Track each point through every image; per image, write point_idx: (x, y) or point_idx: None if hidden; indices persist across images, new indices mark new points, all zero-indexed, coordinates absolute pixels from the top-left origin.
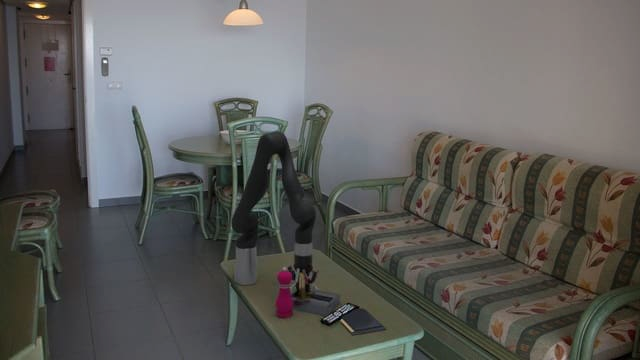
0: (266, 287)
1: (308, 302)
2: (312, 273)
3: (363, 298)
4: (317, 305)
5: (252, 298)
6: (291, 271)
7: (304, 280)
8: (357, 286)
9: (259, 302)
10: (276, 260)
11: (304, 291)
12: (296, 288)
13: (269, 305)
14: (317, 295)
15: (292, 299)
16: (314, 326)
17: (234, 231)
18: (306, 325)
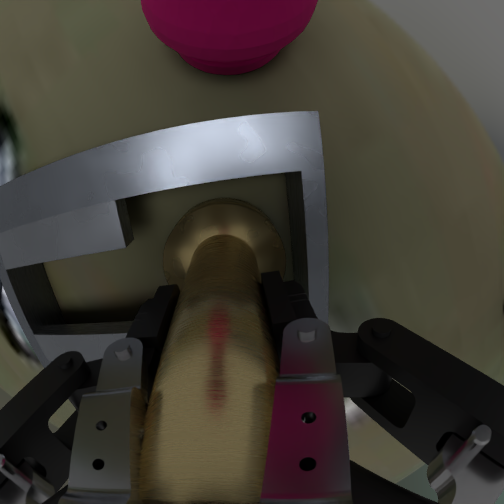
0: (474, 293)
1: (80, 168)
2: (26, 479)
3: (59, 408)
4: (18, 178)
5: (487, 150)
6: (466, 416)
7: (157, 375)
8: None
9: (450, 116)
10: None
11: (183, 284)
12: (289, 284)
13: (392, 98)
14: (127, 329)
15: (148, 4)
16: (16, 54)
17: None
18: (47, 28)
